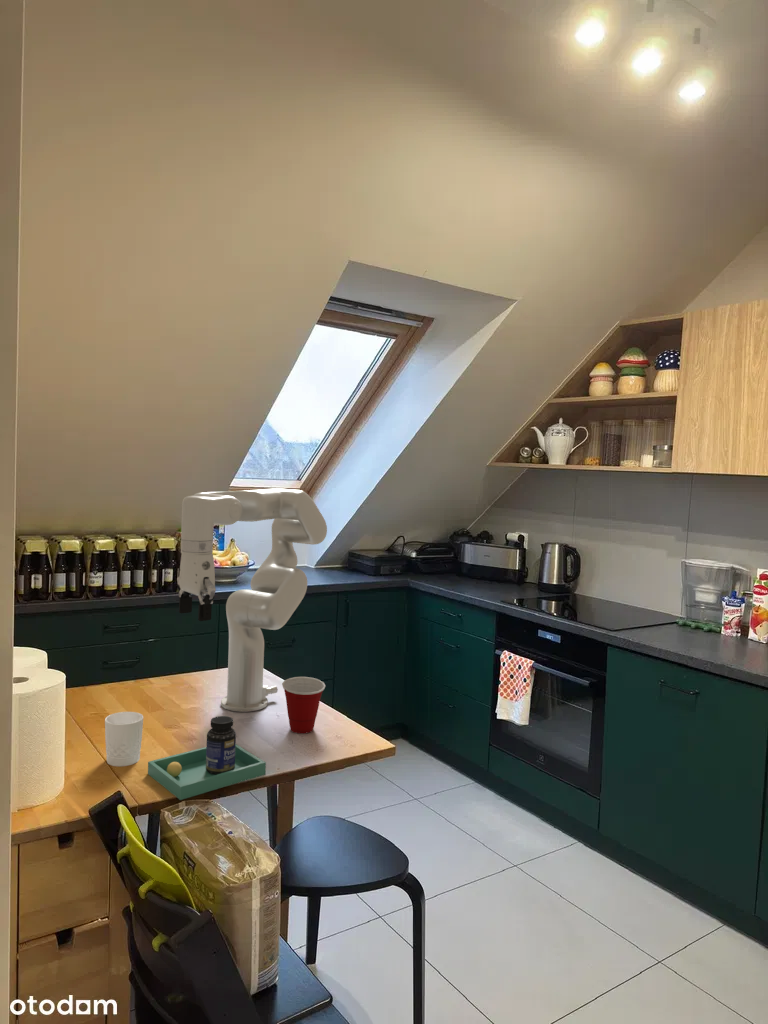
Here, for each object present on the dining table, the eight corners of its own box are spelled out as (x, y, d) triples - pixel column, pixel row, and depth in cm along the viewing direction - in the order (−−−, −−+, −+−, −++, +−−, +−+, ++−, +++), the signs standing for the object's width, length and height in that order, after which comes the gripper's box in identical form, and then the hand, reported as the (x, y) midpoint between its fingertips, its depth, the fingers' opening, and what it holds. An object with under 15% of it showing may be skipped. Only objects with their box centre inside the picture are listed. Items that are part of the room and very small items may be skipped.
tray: (229, 754, 166) (230, 740, 166) (265, 776, 156) (265, 762, 155) (147, 776, 153) (148, 761, 153) (180, 802, 142) (180, 786, 142)
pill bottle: (227, 777, 153) (229, 726, 152) (200, 773, 154) (202, 723, 153) (239, 765, 159) (240, 716, 158) (213, 762, 160) (214, 713, 160)
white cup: (110, 754, 163) (110, 711, 162) (146, 755, 164) (147, 711, 163) (99, 769, 155) (100, 724, 154) (137, 770, 156) (138, 724, 155)
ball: (177, 771, 155) (177, 758, 154) (184, 776, 152) (184, 763, 152) (164, 775, 153) (164, 761, 152) (170, 780, 150) (171, 766, 150)
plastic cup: (289, 740, 176) (291, 692, 175) (274, 725, 186) (276, 679, 185) (330, 734, 181) (332, 687, 180) (314, 719, 191) (315, 674, 190)
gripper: (228, 550, 173) (226, 621, 174) (193, 542, 186) (191, 608, 187) (200, 552, 168) (198, 625, 169) (166, 543, 181) (164, 611, 182)
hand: (194, 616), depth 178 cm, fingers open, 9 cm apart
